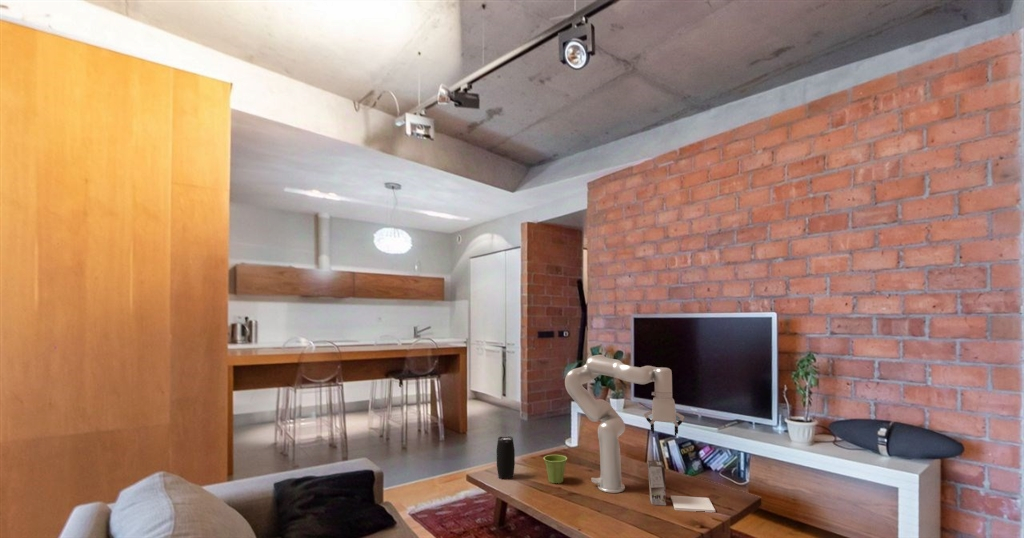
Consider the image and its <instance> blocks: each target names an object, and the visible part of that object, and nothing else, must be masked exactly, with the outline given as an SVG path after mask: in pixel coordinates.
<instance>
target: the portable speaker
mask: <svg viewBox="0 0 1024 538" xmlns="http://www.w3.org/2000/svg"><path fill="white" fill-rule="evenodd" d="M515 453H516V452H515V445H514V437H513V436H510V435H509V436H498V437H497V445H496V469H497V475H498V479H500V480H502V479H503V478H505V479H508V480H512V479H513V478H514V474H515V466H516V465H515V464H516V459H515V458H516V457H515Z"/></svg>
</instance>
